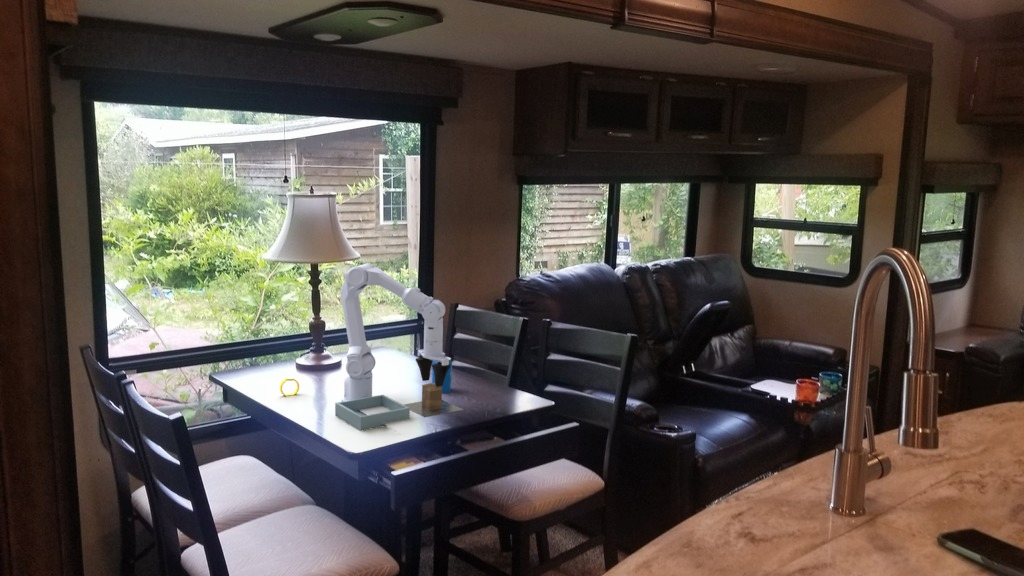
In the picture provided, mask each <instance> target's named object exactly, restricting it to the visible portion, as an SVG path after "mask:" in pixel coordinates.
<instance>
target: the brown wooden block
mask: <svg viewBox="0 0 1024 576" xmlns="http://www.w3.org/2000/svg"><path fill="white" fill-rule="evenodd" d="M421 389H422V390H421V401H422V407H424V408H426V409H428V410H434V409H439V408H442V400H443V393H442V386H440V387H436V385H435V383H432V382H431V383H426V384H422V388H421Z"/></svg>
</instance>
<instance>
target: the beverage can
mask: <svg viewBox="0 0 1024 576" xmlns="http://www.w3.org/2000/svg"><path fill="white" fill-rule="evenodd" d="M445 357H446V358H448V359H449V364H450V368H449V369H448V371H447V373H446V376H445V379H444V382H443V386H442V394H447V393H451V392H452V379H453V378H452V373H453V372H452V371H453V361H452V357H449V356H445ZM432 364H438V362H435V361H433V362H432ZM431 368H432V367H431ZM431 372H432V373H431V374H432V375H431V383H435V375H434V370H433V368H432V371H431Z"/></svg>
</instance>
